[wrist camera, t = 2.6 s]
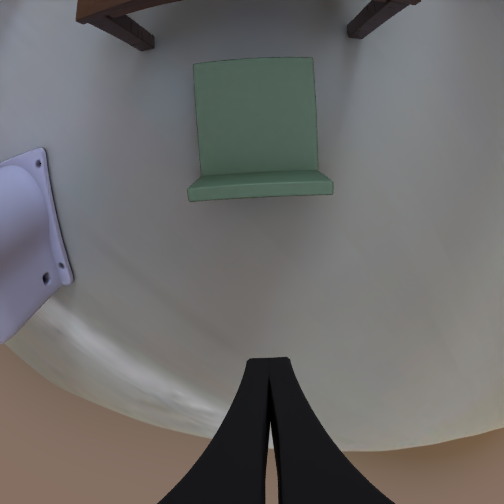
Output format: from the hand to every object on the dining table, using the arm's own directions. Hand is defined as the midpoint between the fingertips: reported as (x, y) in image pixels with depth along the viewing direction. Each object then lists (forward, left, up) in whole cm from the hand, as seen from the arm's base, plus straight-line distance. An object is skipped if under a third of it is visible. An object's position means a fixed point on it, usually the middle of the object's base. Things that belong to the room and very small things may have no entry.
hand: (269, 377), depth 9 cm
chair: (+8, 0, -8) cm, 12 cm away
